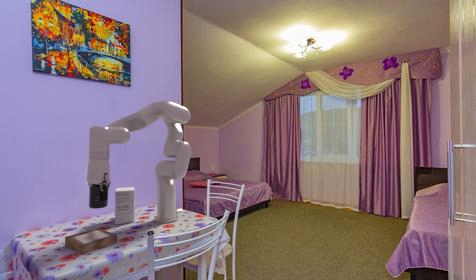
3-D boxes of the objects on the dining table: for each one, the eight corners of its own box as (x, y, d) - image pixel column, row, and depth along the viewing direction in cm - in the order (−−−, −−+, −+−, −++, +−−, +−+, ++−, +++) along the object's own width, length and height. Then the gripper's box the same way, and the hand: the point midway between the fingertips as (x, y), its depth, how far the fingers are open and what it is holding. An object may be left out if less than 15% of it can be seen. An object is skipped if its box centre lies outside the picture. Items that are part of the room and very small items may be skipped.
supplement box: (116, 219, 139) (116, 187, 139) (134, 217, 142) (134, 186, 142) (114, 224, 130) (114, 191, 130) (134, 222, 133) (134, 189, 133)
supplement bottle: (100, 209, 103) (100, 179, 103) (84, 208, 104) (85, 178, 104) (111, 205, 109) (111, 176, 110) (97, 204, 111) (97, 176, 111)
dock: (100, 235, 116) (100, 227, 116) (117, 242, 108) (117, 233, 108) (65, 245, 104) (65, 236, 104) (81, 254, 96) (81, 245, 96)
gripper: (79, 155, 109) (78, 198, 108) (101, 157, 99) (100, 204, 99) (97, 155, 115) (96, 195, 115) (119, 156, 105) (119, 200, 105)
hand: (98, 198), depth 107 cm, fingers closed on supplement bottle, 6 cm apart
